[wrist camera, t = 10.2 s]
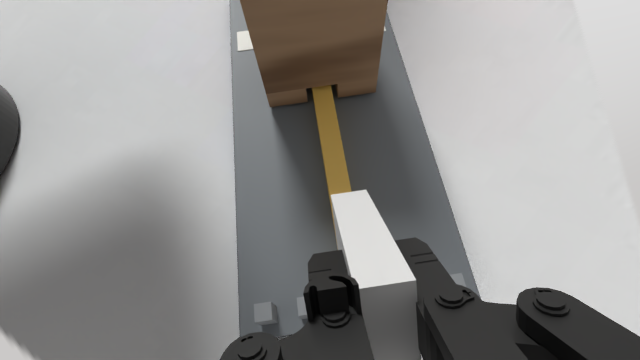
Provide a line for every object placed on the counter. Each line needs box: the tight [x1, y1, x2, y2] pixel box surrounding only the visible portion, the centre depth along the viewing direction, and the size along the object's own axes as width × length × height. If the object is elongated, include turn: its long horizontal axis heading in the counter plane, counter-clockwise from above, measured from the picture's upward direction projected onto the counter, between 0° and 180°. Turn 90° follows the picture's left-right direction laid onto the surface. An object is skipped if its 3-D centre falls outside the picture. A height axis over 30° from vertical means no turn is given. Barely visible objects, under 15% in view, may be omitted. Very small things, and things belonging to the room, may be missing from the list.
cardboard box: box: [240, 0, 388, 107], centre depth 21 cm, size 6×7×8 cm
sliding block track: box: [230, 0, 481, 338], centre depth 22 cm, size 26×12×4 cm, turn 8°
